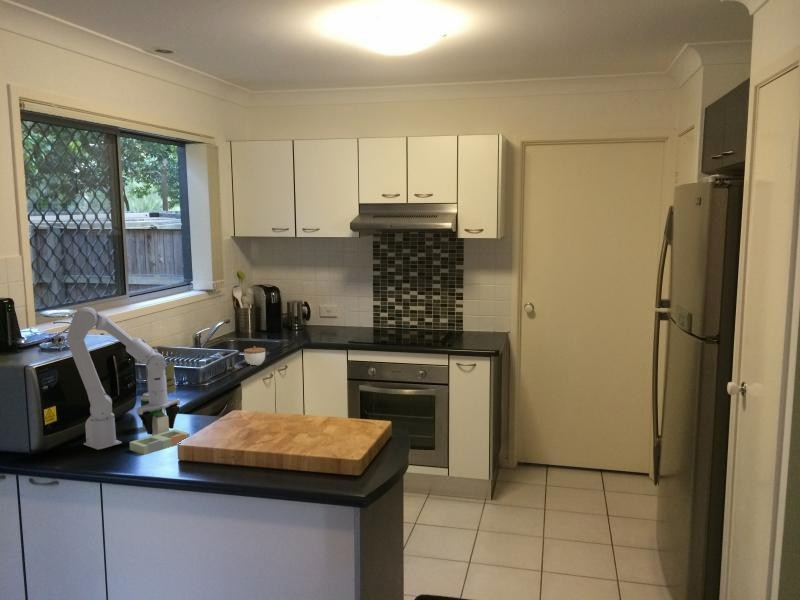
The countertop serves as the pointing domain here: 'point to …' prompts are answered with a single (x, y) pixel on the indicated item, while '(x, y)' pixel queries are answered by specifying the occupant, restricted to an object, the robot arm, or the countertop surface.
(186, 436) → the socket block
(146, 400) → the soda can
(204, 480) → the countertop surface
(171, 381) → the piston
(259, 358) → the lidded jar
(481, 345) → the countertop surface
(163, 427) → the plug
